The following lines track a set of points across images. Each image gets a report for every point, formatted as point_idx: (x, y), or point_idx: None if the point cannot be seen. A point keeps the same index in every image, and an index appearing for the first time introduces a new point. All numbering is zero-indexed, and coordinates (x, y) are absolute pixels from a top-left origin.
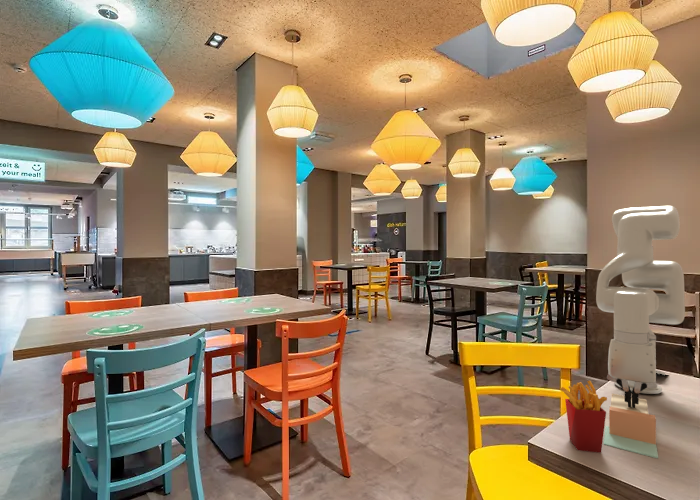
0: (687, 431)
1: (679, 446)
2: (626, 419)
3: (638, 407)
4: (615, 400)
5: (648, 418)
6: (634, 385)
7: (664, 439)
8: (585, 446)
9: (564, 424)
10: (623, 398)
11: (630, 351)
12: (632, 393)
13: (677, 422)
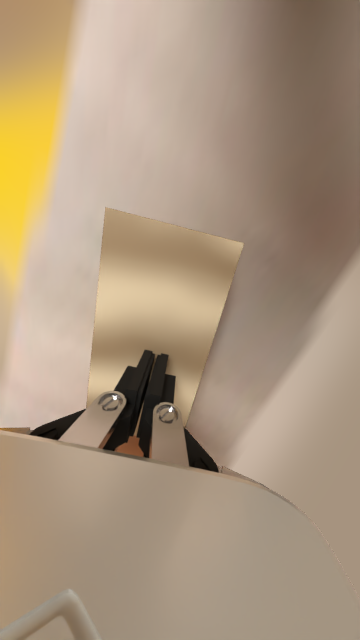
0: (287, 346)
1: (225, 427)
2: None
3: (179, 354)
4: (110, 309)
5: None
6: (150, 435)
7: (208, 407)
8: None
9: (11, 406)
10: (146, 267)
11: None
12: (139, 437)
13: (295, 290)
